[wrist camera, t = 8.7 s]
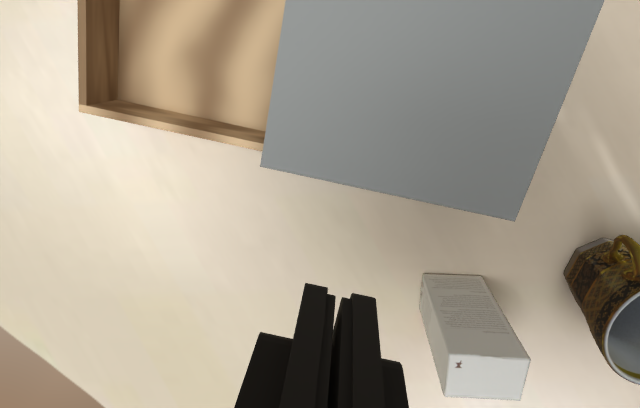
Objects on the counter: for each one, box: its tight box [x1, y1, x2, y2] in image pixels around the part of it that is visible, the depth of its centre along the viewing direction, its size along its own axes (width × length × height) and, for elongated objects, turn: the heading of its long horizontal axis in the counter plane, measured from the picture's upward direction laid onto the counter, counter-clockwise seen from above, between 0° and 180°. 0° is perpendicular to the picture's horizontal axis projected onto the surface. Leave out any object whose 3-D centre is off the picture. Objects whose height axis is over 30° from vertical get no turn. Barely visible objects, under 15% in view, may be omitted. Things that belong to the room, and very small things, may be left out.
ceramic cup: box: [564, 235, 640, 385], centre depth 35 cm, size 13×10×10 cm
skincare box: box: [419, 274, 531, 401], centre depth 36 cm, size 6×4×12 cm
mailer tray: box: [78, 0, 286, 151], centre depth 32 cm, size 19×14×5 cm
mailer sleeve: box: [260, 0, 604, 221], centre depth 32 cm, size 20×16×7 cm
